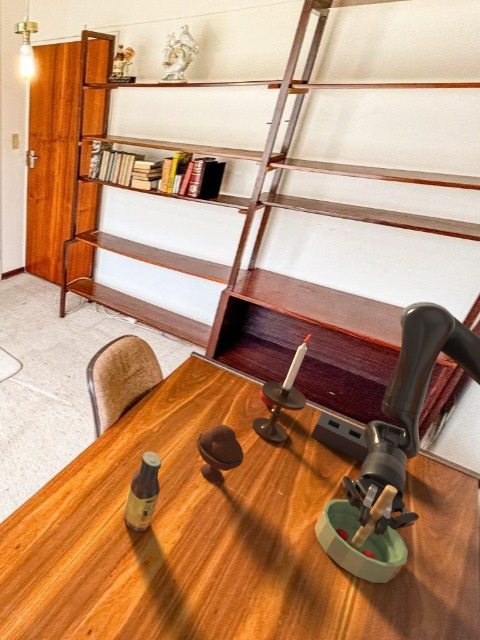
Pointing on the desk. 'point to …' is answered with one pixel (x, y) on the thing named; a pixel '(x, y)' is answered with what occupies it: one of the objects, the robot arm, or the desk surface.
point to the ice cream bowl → (219, 452)
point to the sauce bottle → (143, 493)
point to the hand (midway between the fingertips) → (371, 527)
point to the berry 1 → (342, 534)
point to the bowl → (384, 547)
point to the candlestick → (281, 401)
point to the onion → (265, 400)
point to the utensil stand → (341, 436)
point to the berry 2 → (368, 554)
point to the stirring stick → (374, 516)
